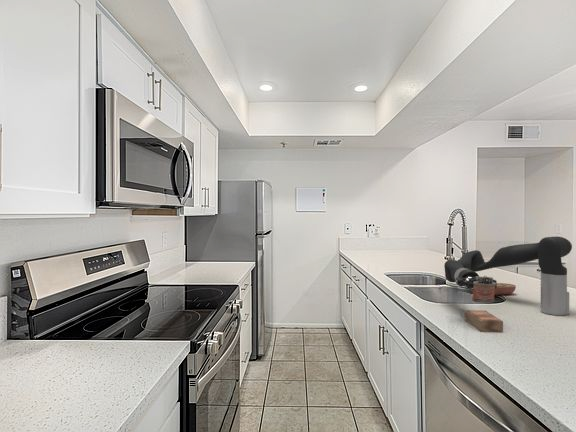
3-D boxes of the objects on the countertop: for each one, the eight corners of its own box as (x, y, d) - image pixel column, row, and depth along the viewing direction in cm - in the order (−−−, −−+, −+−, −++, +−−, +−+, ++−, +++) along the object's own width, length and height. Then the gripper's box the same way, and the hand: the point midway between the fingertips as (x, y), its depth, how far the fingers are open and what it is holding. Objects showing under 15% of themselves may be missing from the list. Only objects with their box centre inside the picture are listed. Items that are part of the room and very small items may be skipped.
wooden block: (485, 320, 145) (485, 309, 145) (503, 332, 131) (503, 320, 131) (465, 319, 146) (465, 309, 146) (480, 331, 132) (480, 320, 132)
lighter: (492, 299, 140) (494, 275, 138) (496, 302, 136) (498, 278, 134) (470, 298, 140) (472, 274, 139) (473, 302, 137) (475, 277, 135)
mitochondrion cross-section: (485, 298, 181) (485, 289, 181) (470, 294, 190) (469, 285, 190) (519, 295, 187) (519, 286, 187) (503, 291, 197) (503, 282, 197)
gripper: (483, 286, 153) (502, 296, 137) (449, 286, 155) (464, 295, 138) (483, 269, 153) (503, 276, 137) (449, 269, 154) (464, 276, 138)
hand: (483, 286), depth 138 cm, fingers closed on lighter, 8 cm apart
